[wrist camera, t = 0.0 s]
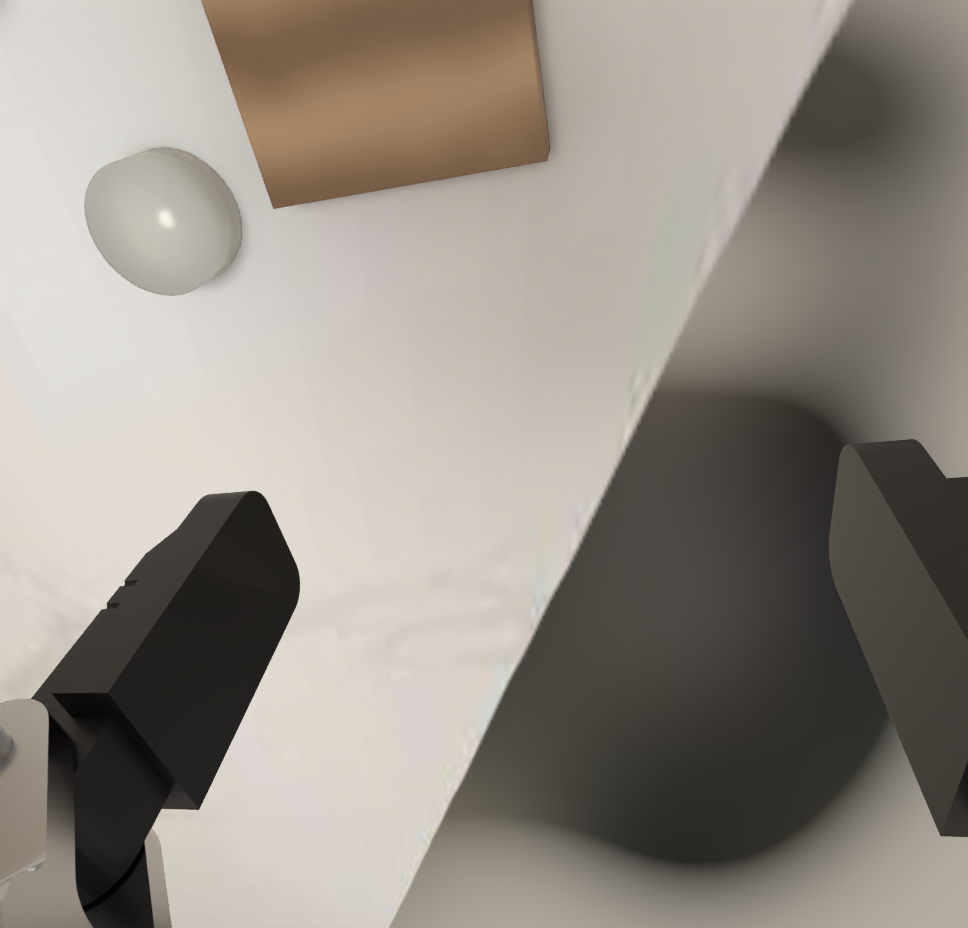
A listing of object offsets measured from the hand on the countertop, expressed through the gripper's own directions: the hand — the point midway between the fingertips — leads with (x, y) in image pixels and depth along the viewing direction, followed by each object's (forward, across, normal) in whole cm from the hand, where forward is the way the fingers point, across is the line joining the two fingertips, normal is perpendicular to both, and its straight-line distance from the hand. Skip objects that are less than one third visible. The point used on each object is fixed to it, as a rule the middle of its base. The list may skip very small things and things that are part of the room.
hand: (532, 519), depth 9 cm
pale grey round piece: (+30, +22, 0) cm, 37 cm away
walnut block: (+29, +8, -7) cm, 31 cm away
